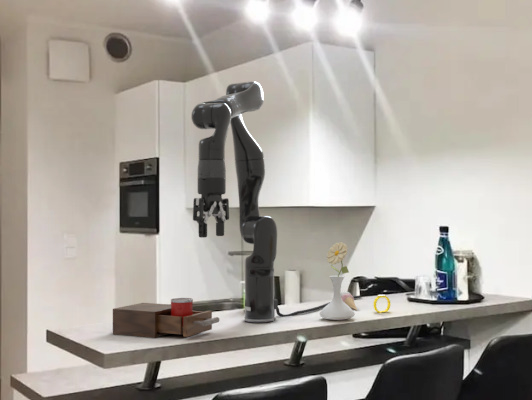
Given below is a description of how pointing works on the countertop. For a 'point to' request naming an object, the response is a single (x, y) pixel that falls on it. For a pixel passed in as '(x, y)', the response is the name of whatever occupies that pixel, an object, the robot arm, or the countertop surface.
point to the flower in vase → (337, 286)
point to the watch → (376, 302)
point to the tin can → (181, 307)
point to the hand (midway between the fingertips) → (211, 236)
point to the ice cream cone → (348, 299)
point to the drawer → (185, 323)
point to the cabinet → (138, 319)
